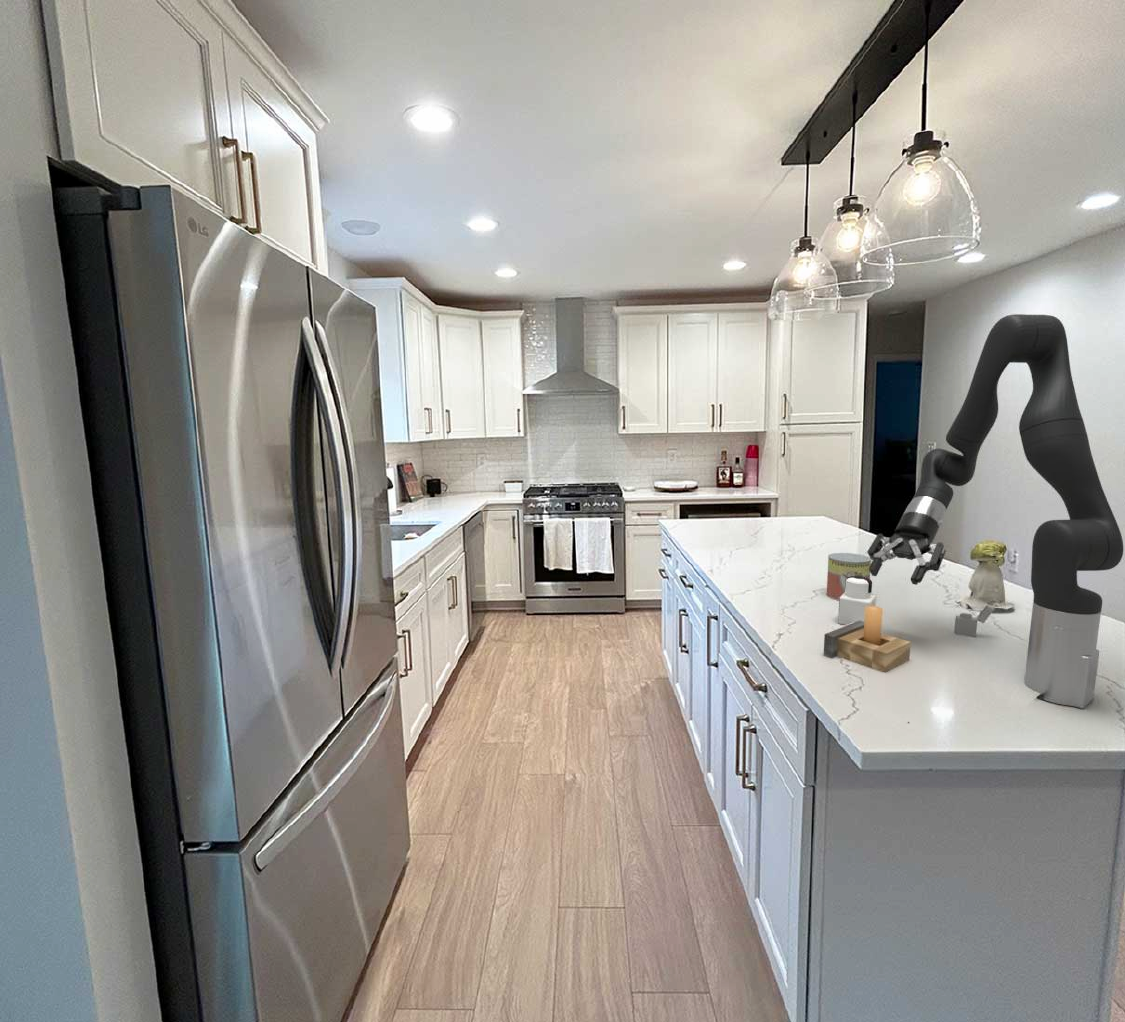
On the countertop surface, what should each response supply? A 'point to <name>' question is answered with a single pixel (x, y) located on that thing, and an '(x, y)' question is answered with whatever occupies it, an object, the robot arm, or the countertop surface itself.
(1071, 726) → the countertop surface
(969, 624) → the lighter
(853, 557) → the canned food
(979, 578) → the mushroom
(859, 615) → the medicine bottle
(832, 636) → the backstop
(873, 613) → the dowel
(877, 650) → the socket block
